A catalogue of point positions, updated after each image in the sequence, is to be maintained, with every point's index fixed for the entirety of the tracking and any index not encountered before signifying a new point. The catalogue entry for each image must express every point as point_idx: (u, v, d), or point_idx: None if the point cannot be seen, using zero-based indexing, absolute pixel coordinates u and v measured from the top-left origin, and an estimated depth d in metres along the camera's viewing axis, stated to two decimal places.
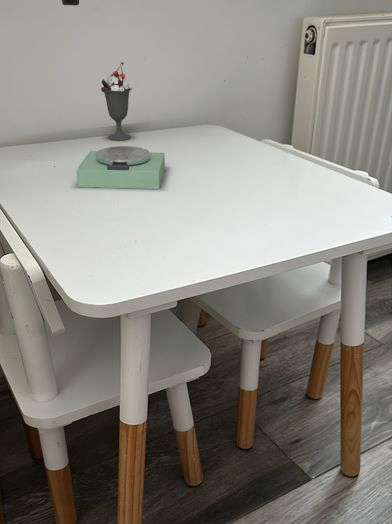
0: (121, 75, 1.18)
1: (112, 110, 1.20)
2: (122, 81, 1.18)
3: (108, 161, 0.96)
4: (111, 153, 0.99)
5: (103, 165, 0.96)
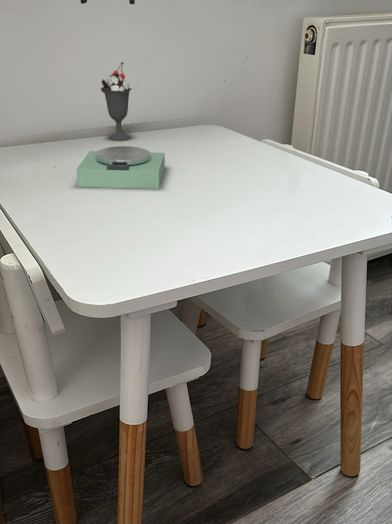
0: (121, 75, 1.18)
1: (112, 110, 1.20)
2: (121, 81, 1.18)
3: (108, 161, 0.96)
4: (111, 153, 0.99)
5: (103, 165, 0.96)
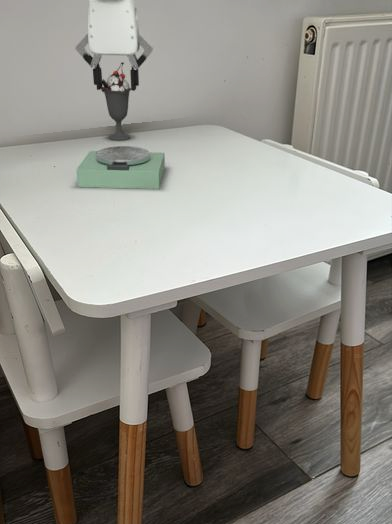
0: (121, 75, 1.18)
1: (112, 110, 1.20)
2: (122, 81, 1.18)
3: (108, 161, 0.96)
4: (111, 153, 0.99)
5: (103, 165, 0.96)
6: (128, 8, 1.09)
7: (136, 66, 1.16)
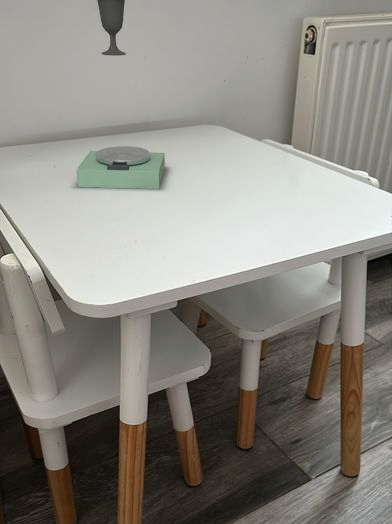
0: None
1: (106, 19, 1.08)
2: None
3: (108, 161, 0.96)
4: (111, 153, 0.99)
5: (103, 165, 0.96)
6: None
7: None
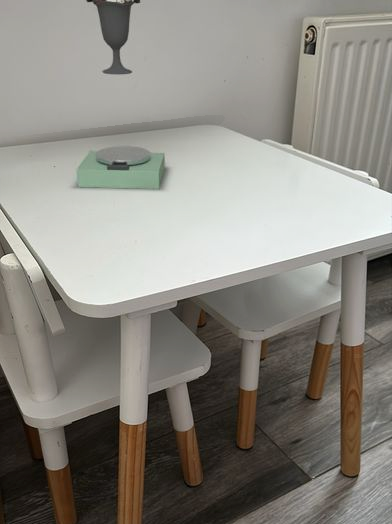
0: None
1: (107, 31, 0.88)
2: None
3: (108, 161, 0.96)
4: (111, 153, 0.99)
5: (103, 165, 0.96)
6: None
7: None
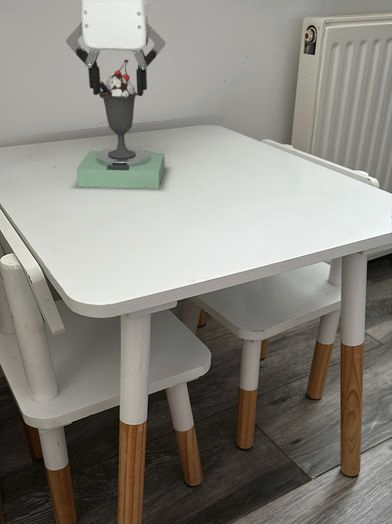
0: (125, 76, 0.92)
1: (113, 120, 0.94)
2: (125, 84, 0.92)
3: (108, 162, 0.96)
4: None
5: (103, 165, 0.96)
6: None
7: (144, 65, 0.90)
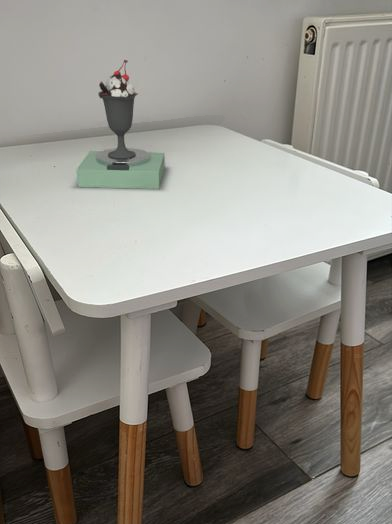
0: (124, 76, 0.92)
1: (113, 121, 0.94)
2: (125, 84, 0.92)
3: (108, 163, 0.96)
4: None
5: (103, 165, 0.96)
6: None
7: None
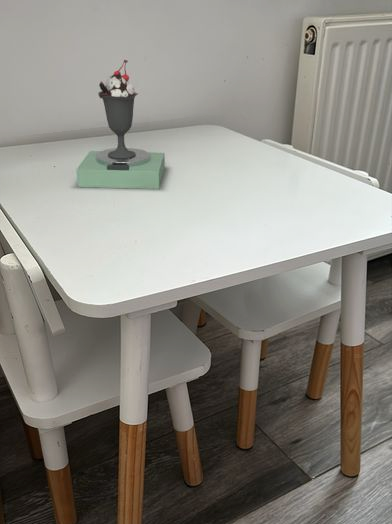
0: (124, 76, 0.92)
1: (113, 121, 0.94)
2: (125, 84, 0.92)
3: (108, 163, 0.96)
4: None
5: (103, 165, 0.96)
6: None
7: None
